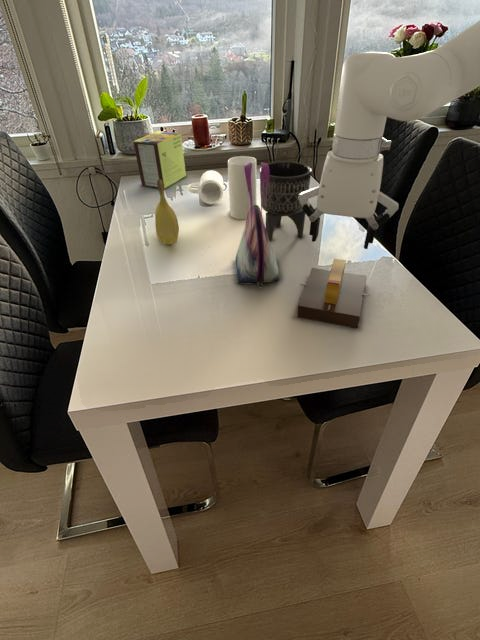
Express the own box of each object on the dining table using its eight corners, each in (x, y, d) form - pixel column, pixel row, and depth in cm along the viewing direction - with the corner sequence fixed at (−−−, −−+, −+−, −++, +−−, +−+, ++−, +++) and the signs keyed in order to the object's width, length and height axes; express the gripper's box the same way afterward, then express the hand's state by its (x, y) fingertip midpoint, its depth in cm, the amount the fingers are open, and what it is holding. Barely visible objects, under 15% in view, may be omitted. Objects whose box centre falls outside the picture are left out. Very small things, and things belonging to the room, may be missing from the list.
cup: (225, 216, 115) (222, 162, 105) (237, 206, 121) (236, 154, 111) (249, 221, 112) (248, 166, 102) (260, 211, 118) (261, 157, 107)
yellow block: (331, 276, 82) (334, 257, 79) (342, 278, 81) (346, 258, 78) (324, 302, 75) (327, 282, 72) (336, 304, 74) (339, 284, 71)
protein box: (186, 175, 146) (181, 132, 136) (164, 189, 135) (157, 143, 125) (164, 173, 149) (157, 130, 140) (140, 185, 139) (132, 140, 129)
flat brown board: (306, 277, 87) (307, 266, 85) (369, 287, 83) (372, 275, 81) (291, 316, 76) (292, 303, 74) (363, 329, 72) (366, 317, 70)
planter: (309, 226, 108) (316, 163, 97) (299, 247, 99) (305, 179, 87) (266, 221, 112) (268, 159, 100) (253, 240, 102) (252, 174, 91)
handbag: (284, 295, 82) (290, 181, 66) (238, 298, 82) (233, 183, 66) (272, 248, 98) (274, 147, 83) (234, 250, 98) (229, 149, 82)
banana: (154, 225, 112) (141, 155, 99) (174, 222, 113) (163, 153, 100) (162, 262, 95) (147, 183, 82) (184, 259, 96) (173, 180, 83)
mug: (224, 193, 130) (222, 169, 125) (224, 204, 123) (222, 179, 118) (189, 194, 130) (187, 171, 125) (187, 205, 123) (184, 181, 118)
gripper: (413, 144, 61) (388, 239, 72) (307, 137, 65) (299, 227, 76) (413, 157, 55) (386, 258, 66) (298, 148, 60) (291, 244, 71)
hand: (340, 242), depth 71 cm, fingers open, 9 cm apart
